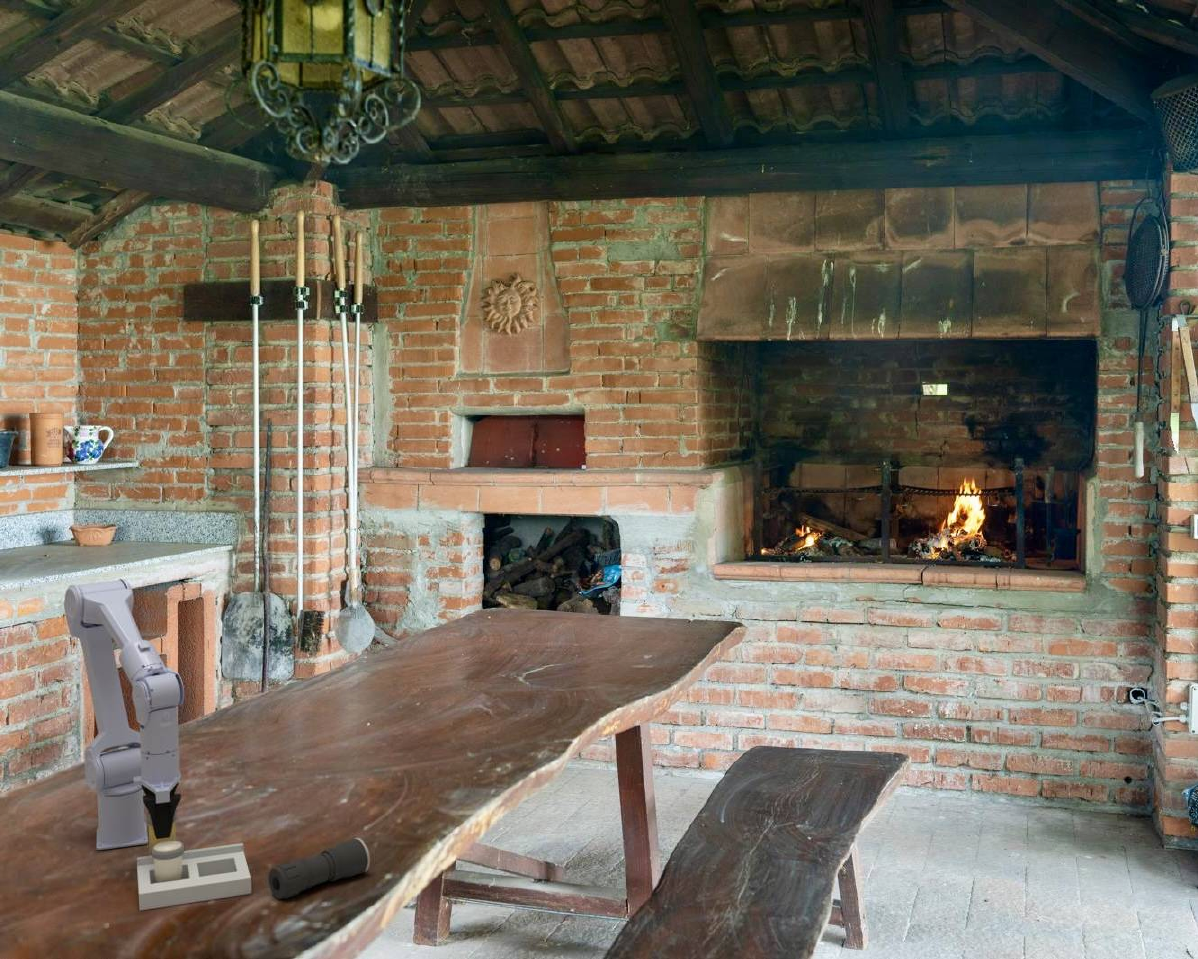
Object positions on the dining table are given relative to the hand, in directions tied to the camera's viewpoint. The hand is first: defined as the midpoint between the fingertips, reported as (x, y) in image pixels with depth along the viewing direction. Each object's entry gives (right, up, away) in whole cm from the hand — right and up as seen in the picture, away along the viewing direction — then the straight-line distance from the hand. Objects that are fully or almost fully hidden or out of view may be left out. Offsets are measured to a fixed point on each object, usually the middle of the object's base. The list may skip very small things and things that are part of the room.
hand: (162, 831), depth 198 cm
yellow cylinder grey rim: (0, -4, +1) cm, 4 cm away
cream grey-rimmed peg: (+4, -7, -8) cm, 11 cm away
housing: (+7, -7, -6) cm, 12 cm away
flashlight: (+27, -7, -5) cm, 28 cm away
